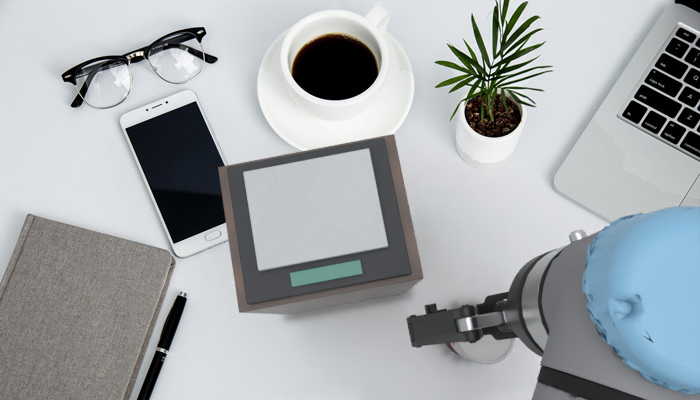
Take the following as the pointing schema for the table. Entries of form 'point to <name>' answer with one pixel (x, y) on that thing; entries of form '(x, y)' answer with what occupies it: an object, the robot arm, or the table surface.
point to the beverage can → (484, 349)
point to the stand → (338, 294)
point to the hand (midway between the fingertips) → (507, 311)
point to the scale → (317, 221)
